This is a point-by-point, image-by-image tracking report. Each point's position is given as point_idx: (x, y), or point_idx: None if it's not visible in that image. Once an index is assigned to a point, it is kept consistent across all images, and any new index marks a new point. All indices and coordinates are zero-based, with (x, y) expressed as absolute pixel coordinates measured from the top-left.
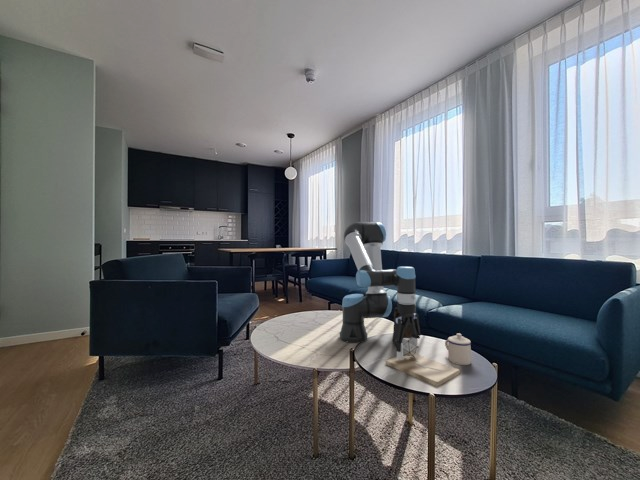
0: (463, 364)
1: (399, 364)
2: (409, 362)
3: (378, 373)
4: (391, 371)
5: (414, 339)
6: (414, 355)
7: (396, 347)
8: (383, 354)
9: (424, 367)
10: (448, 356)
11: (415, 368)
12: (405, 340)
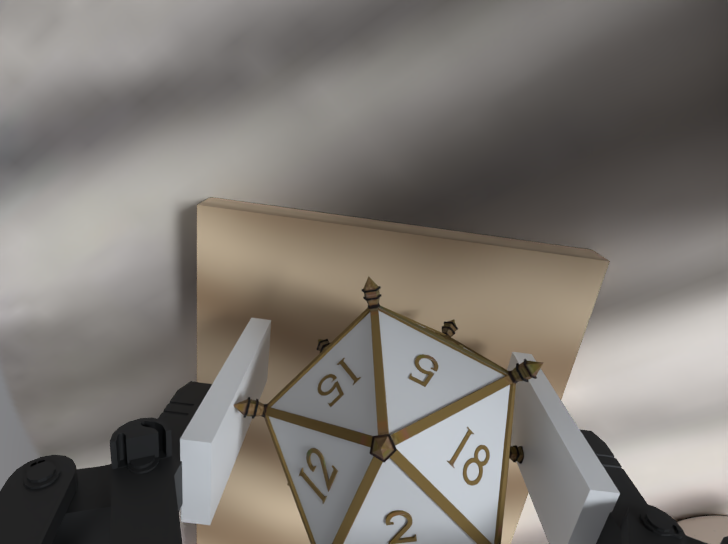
0: None
1: (230, 344)
2: None
3: (7, 252)
4: (133, 310)
5: (563, 529)
6: (536, 350)
7: (160, 418)
8: (421, 20)
9: None
10: (698, 539)
11: (265, 462)
12: (336, 521)
